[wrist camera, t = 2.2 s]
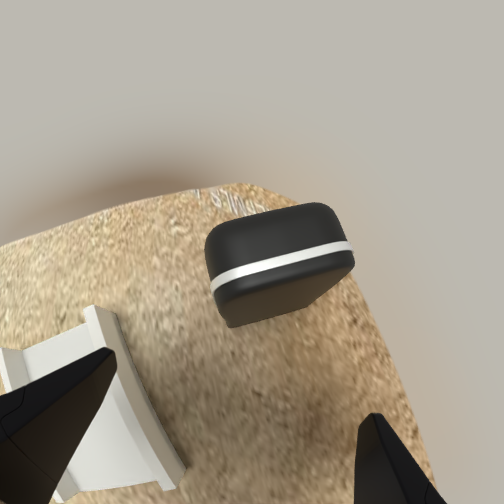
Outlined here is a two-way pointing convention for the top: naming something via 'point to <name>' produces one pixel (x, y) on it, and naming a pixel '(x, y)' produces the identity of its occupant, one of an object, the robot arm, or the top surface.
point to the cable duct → (102, 412)
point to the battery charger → (275, 261)
